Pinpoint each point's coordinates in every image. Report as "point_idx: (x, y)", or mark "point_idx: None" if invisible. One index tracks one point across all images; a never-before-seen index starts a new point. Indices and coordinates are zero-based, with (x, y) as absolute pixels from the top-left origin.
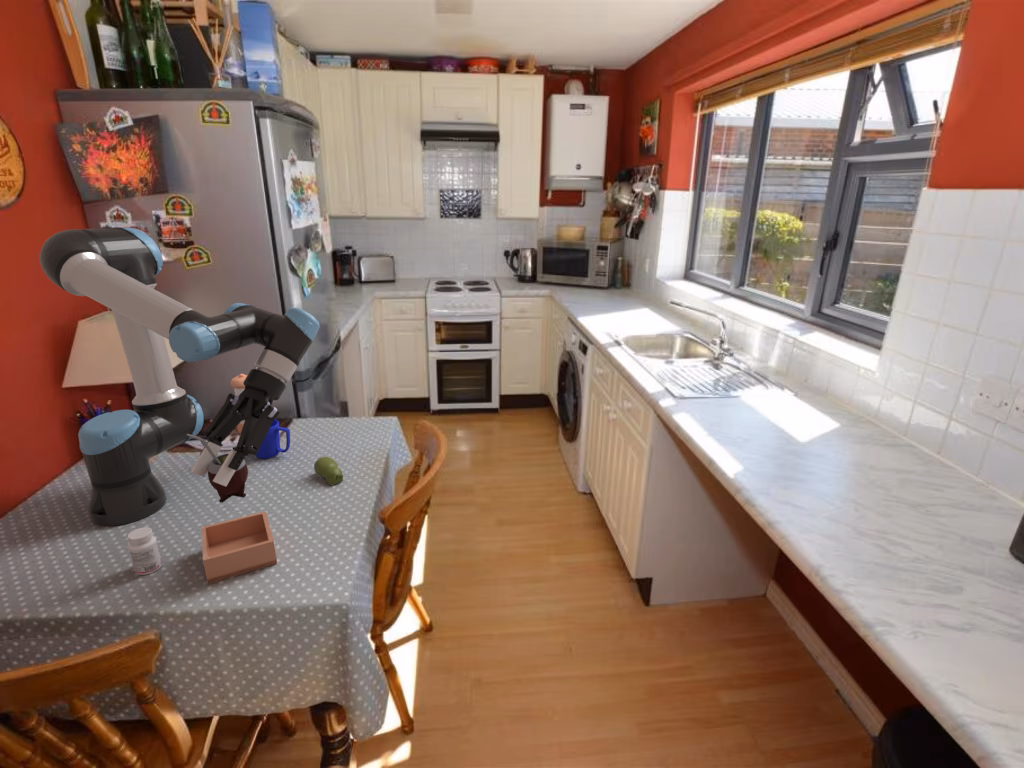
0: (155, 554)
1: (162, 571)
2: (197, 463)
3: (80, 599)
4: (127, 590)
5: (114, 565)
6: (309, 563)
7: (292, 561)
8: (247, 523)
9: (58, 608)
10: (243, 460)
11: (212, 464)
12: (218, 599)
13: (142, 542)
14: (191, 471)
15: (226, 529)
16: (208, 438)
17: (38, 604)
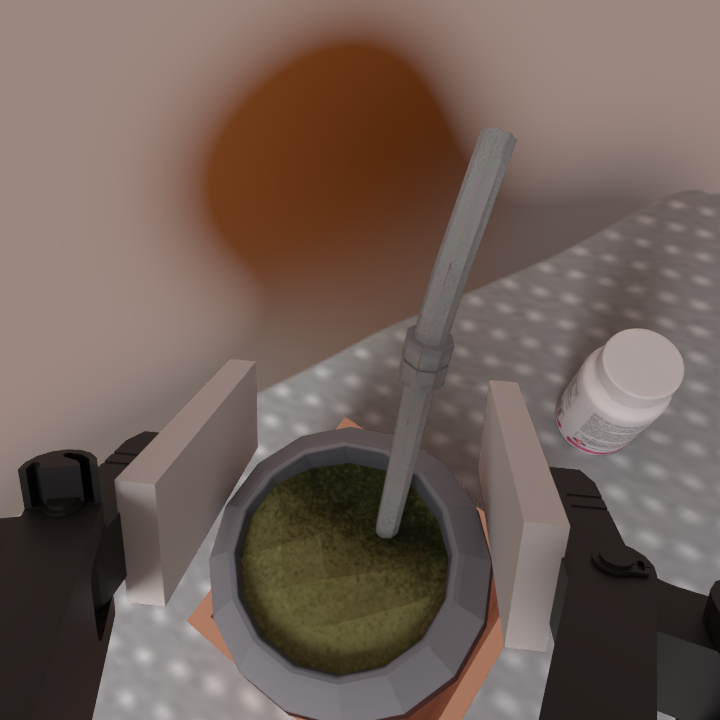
0: (572, 408)
1: (536, 427)
2: (501, 409)
3: (605, 270)
4: (536, 336)
5: (699, 383)
6: (103, 680)
7: (172, 661)
8: (439, 710)
9: (614, 235)
10: (240, 661)
11: (373, 444)
12: (267, 417)
13: (597, 357)
14: (504, 382)
15: (486, 632)
16: (612, 548)
17: (673, 223)
